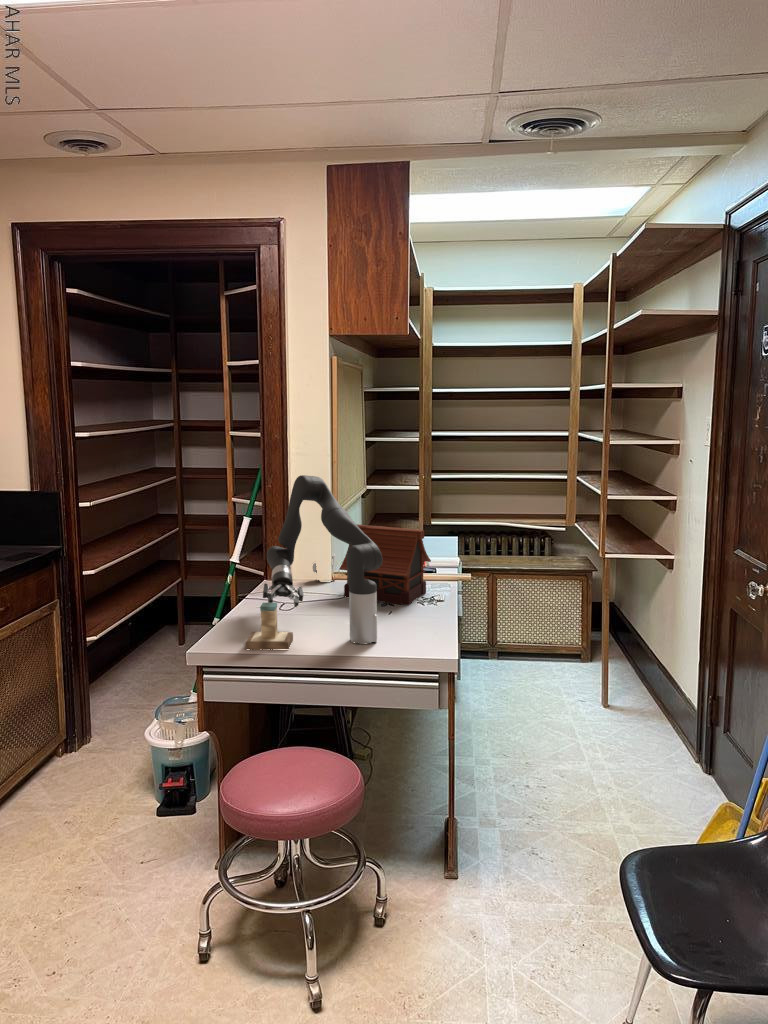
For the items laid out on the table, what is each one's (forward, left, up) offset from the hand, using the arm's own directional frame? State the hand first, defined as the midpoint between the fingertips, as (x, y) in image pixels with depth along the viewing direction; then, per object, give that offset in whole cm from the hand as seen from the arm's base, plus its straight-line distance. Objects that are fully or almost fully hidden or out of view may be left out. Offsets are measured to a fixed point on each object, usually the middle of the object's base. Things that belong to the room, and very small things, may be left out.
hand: (283, 604), depth 253 cm
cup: (-6, -73, -11) cm, 74 cm away
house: (-33, -50, -11) cm, 61 cm away
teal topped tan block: (+3, +13, -7) cm, 15 cm away
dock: (+3, +13, -10) cm, 17 cm away
